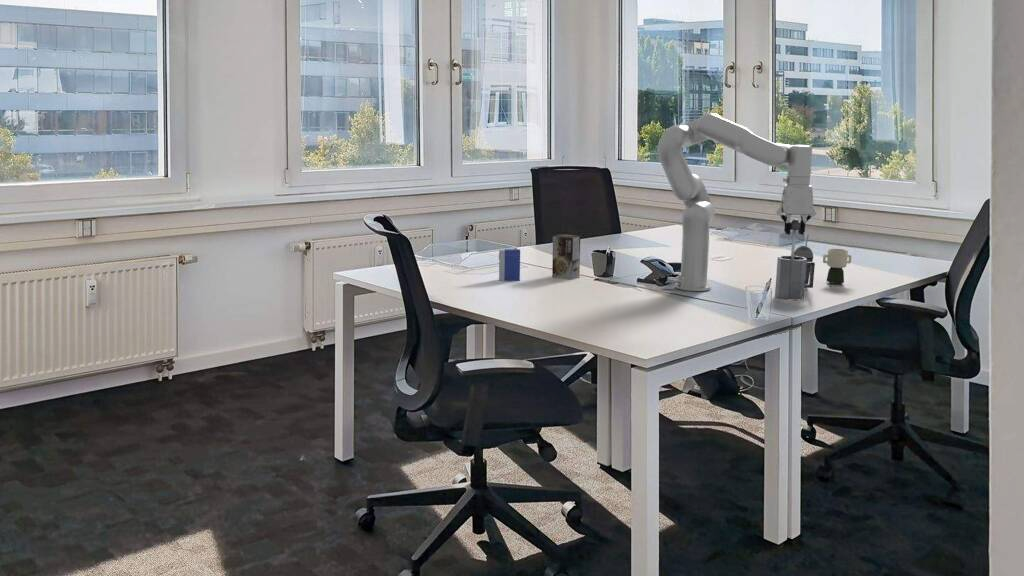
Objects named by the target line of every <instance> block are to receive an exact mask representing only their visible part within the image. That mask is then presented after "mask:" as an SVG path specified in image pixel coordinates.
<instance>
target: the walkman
mask: <svg viewBox="0 0 1024 576" xmlns="http://www.w3.org/2000/svg"><path fill="white" fill-rule="evenodd" d="M498 251H499V252H498V260H499V261H498V267H499V269H498V281H499V282H500V281H501V282H505V281H506V282H507V281H509V282H517V281H518V282H520V280H521V249H520V248H518V247H517V248H516V247H515V248H510V249H509V248H499V250H498Z"/></svg>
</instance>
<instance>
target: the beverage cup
mask: <svg viewBox="0 0 1024 576" xmlns="http://www.w3.org/2000/svg"><path fill="white" fill-rule="evenodd" d="M809 236H810V235H809V234H807V235H806V240H805V245H800V246H798V247H797V248H795V250H794V256H799V257H804V258H806V259H807V262H814V253H813V250H812V249H811V248H810V247H809V246H808V240H809ZM810 267H811V265H807V268H806V281H805V284H809V279H810Z"/></svg>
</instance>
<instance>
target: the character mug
mask: <svg viewBox="0 0 1024 576" xmlns="http://www.w3.org/2000/svg"><path fill="white" fill-rule="evenodd" d="M822 263H823V264H826V265H827V266H828V267H829V269H828V273H827V276H826V282H827V283H830V284H831V285H832V284H835V285H836V284H837V285H838V284H844V283H845V273H844V272H845V271H844V268H846V267H847V264H851V263H852V254H849V253H848V250H847V249H843V248H829V249H828V250H827V254H824V255H823V256H822Z"/></svg>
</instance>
